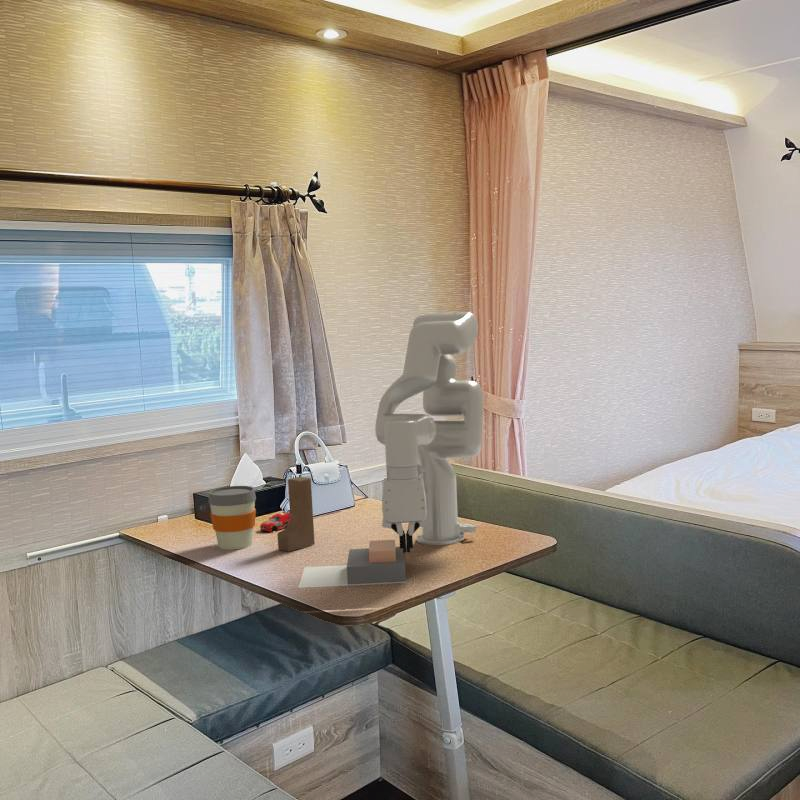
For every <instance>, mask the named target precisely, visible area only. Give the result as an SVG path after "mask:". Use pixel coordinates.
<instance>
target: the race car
mask: <svg viewBox="0 0 800 800" xmlns="http://www.w3.org/2000/svg"><path fill="white" fill-rule="evenodd" d="M289 520H290V512H280V513H279V512H278V513H276V514H274V515H272V516H271V517H269V518H268V519H267V520H264V521H263V522H262V523H260V525H259V527H260V531H261V532H271V531H272V532H271V533H274V532H273V531H276V530H277V531H279V530H282V529H283V530H284V529H286V527H287V526H288V524H289ZM277 531H276V532H277Z"/></svg>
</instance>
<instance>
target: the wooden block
mask: <svg viewBox="0 0 800 800" xmlns="http://www.w3.org/2000/svg"><path fill="white" fill-rule="evenodd" d="M287 485H288V486H287V487H288V502H289V503H288V504H289V513H290V520H289V524H288V526H287V527H286V528H284V529H283V530H281V531H279V532H277V546H278V547H277V548H278V550H280V551H284V552H287V553H289V552H293V551H297V550H301V549H303V548H307V547H310V546H314V545H315V529H314V527H315V526H314V510H313V509H314V508H313V495H312V494H313V493H312V492H313V491H312V479H311V478H310V477H305V476H296V477H290V478H289V479H287Z"/></svg>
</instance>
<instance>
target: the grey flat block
mask: <svg viewBox="0 0 800 800" xmlns="http://www.w3.org/2000/svg"><path fill="white" fill-rule="evenodd" d="M348 550H349V551H348V557H347V563H346V565H347V581H348V585H349V586H351V585H350V584H369V585H371V584H370V583H388V584H390V583H389V582H406V583H407V578H406V577H407V576H406V574H407V572H406V557H405V553H403V548H400V546H395V550H396V561H392V562H372V563H369V547H367V548H351V549H350V548H349V549H348Z"/></svg>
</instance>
